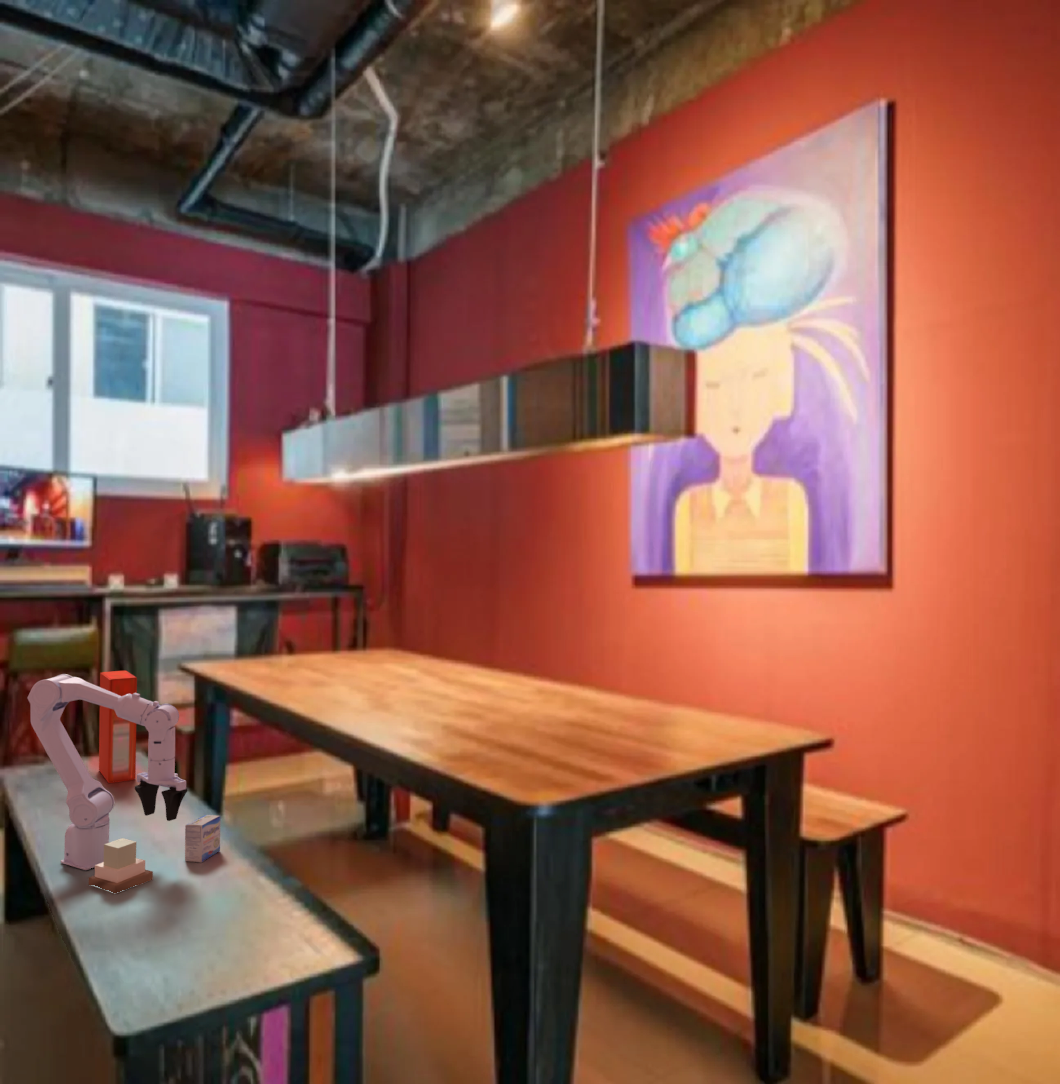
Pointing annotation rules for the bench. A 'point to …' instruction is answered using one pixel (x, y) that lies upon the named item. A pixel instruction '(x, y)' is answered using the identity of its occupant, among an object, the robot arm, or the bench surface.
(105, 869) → the cream top slab
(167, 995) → the bench surface
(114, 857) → the beige cube
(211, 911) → the bench surface
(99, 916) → the bench surface
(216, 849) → the medicine box
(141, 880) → the walnut base slab
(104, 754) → the file binder
